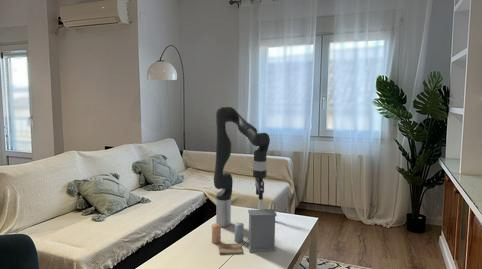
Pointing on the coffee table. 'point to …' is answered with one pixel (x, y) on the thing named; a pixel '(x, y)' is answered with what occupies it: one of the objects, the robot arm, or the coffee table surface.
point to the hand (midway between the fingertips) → (259, 196)
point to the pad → (230, 249)
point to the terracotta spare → (216, 233)
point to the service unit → (261, 230)
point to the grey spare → (239, 232)
